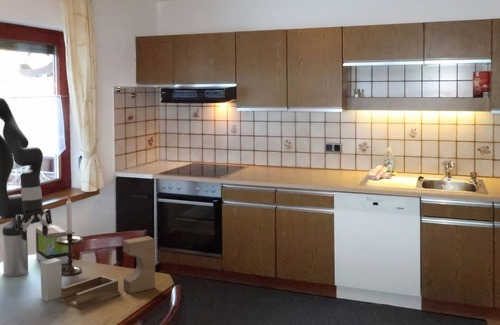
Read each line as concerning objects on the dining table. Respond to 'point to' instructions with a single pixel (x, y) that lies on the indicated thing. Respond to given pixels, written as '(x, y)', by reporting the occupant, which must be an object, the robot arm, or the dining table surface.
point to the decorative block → (140, 264)
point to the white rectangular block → (51, 279)
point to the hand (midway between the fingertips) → (34, 237)
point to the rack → (90, 291)
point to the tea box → (51, 244)
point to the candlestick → (70, 243)
